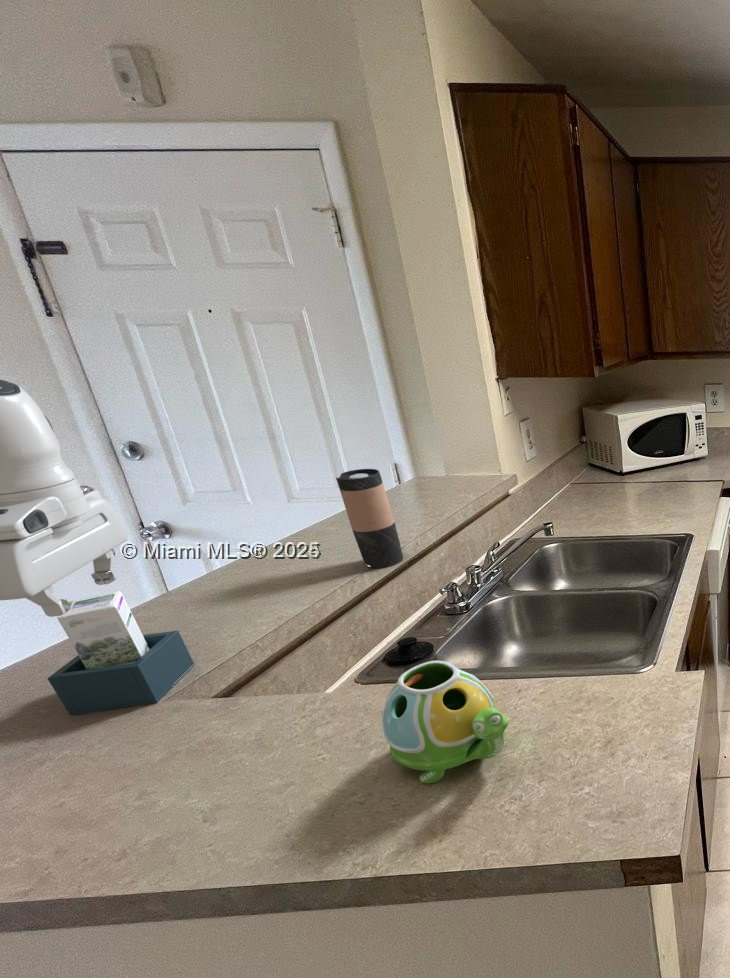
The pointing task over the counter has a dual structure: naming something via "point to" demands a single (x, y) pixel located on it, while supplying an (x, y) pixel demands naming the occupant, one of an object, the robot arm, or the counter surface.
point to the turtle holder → (441, 720)
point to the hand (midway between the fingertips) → (84, 597)
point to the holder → (124, 678)
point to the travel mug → (370, 517)
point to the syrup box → (103, 631)
